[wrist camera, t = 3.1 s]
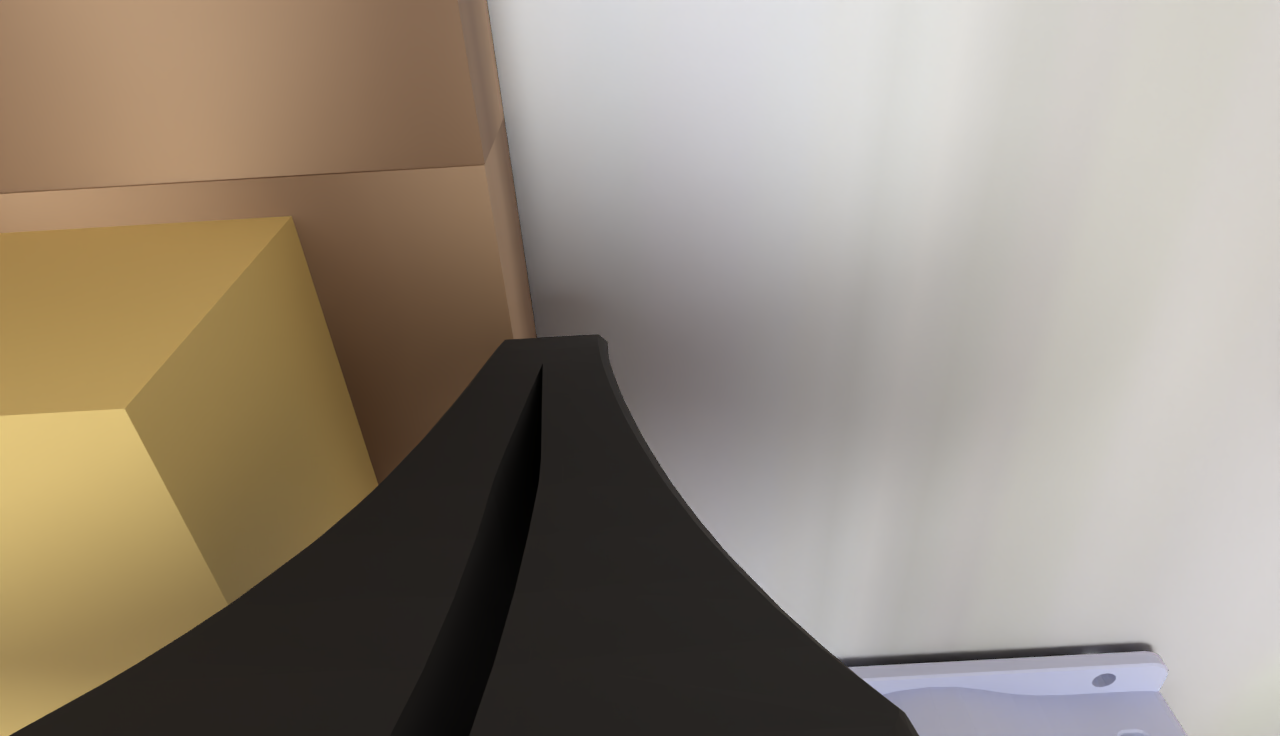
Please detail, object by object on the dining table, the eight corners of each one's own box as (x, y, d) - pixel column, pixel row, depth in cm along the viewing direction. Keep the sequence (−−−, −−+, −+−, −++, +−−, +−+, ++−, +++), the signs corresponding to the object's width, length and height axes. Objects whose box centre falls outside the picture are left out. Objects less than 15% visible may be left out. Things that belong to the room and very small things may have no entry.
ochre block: (291, 216, 10) (124, 409, 6) (385, 507, 13) (302, 745, 9) (-105, 239, 10) (-473, 442, 6) (77, 523, 13) (-117, 768, 9)
